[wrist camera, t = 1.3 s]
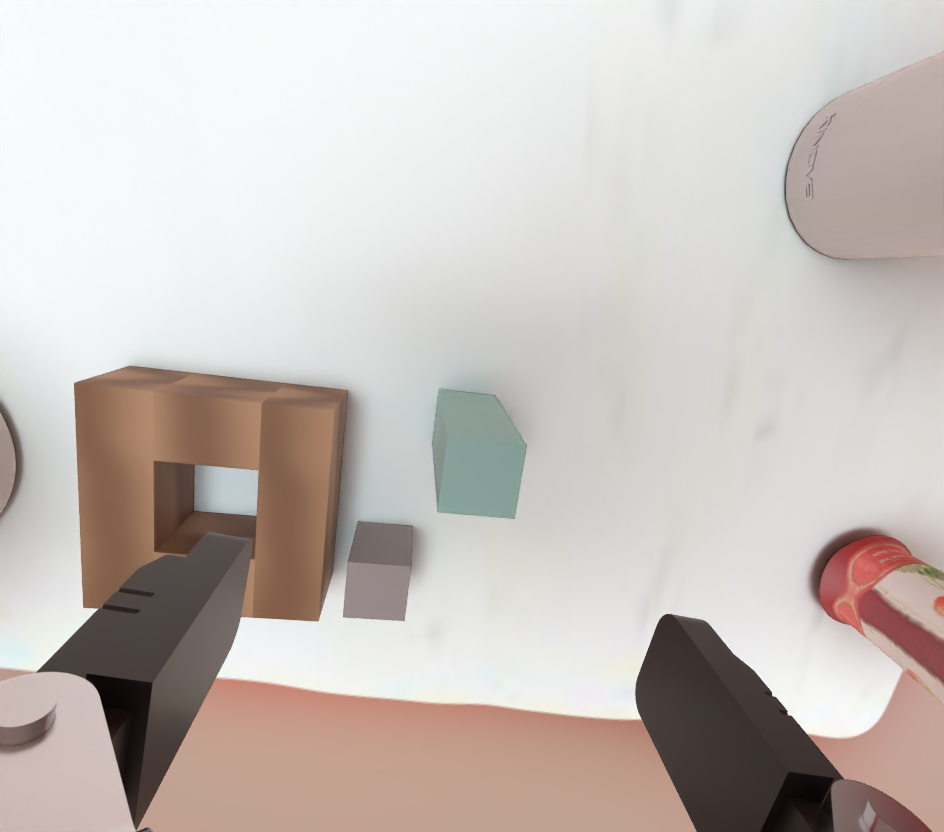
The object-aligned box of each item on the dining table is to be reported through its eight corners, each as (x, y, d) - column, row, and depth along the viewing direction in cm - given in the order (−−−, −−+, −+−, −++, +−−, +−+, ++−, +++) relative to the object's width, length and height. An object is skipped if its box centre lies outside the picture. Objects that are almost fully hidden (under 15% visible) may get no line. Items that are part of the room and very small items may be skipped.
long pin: (494, 395, 32) (526, 445, 23) (486, 448, 33) (514, 518, 24) (438, 388, 32) (447, 437, 22) (432, 443, 33) (437, 512, 23)
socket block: (347, 390, 31) (334, 410, 27) (332, 572, 34) (318, 621, 30) (129, 366, 30) (73, 383, 25) (132, 559, 33) (83, 607, 28)
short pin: (412, 525, 34) (410, 566, 29) (406, 573, 35) (404, 620, 30) (358, 521, 34) (347, 562, 29) (353, 569, 34) (342, 617, 30)
